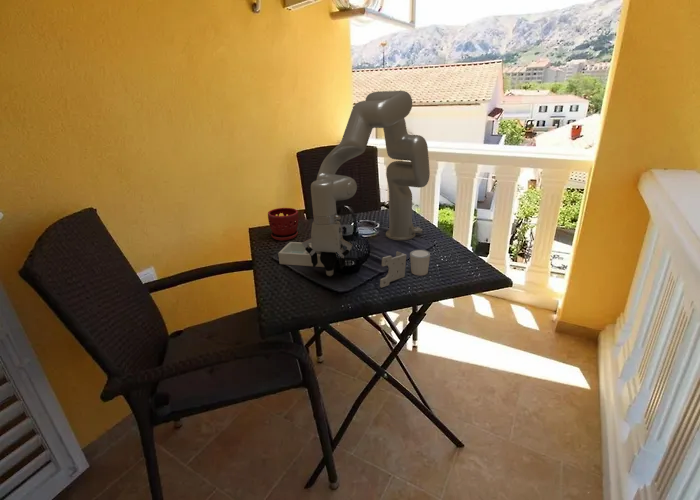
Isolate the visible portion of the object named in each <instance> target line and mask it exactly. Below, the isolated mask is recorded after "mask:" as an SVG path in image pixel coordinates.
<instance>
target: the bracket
mask: <svg viewBox="0 0 700 500" xmlns="http://www.w3.org/2000/svg"><path fill="white" fill-rule="evenodd" d="M381 258H382V259H381V267H388V270H387V271H388V272H387V274H386V275H385V276H384V277H382V278H380V280H379V287H380V288H381V289H382V288H384V287H387V286H390V283H391V282H394V281H397V280H400V279H402V278H405V273H406V264H407V254H406V253H402V252H401V251H396V252H395V256H394V257H393V256H392V255H386V256H384V257H381Z"/></svg>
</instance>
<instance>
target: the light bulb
mask: <svg viewBox="0 0 700 500" xmlns="http://www.w3.org/2000/svg"><path fill="white" fill-rule="evenodd" d="M337 260H338V257H337V254H336V253H334V252H322V253H321V255H320V261H321V263H322V264H323V265H324V267H323V268H324V269H325V274H326V276H328V277H332V276H333V275H334V269H335V264H336V262H337Z"/></svg>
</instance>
